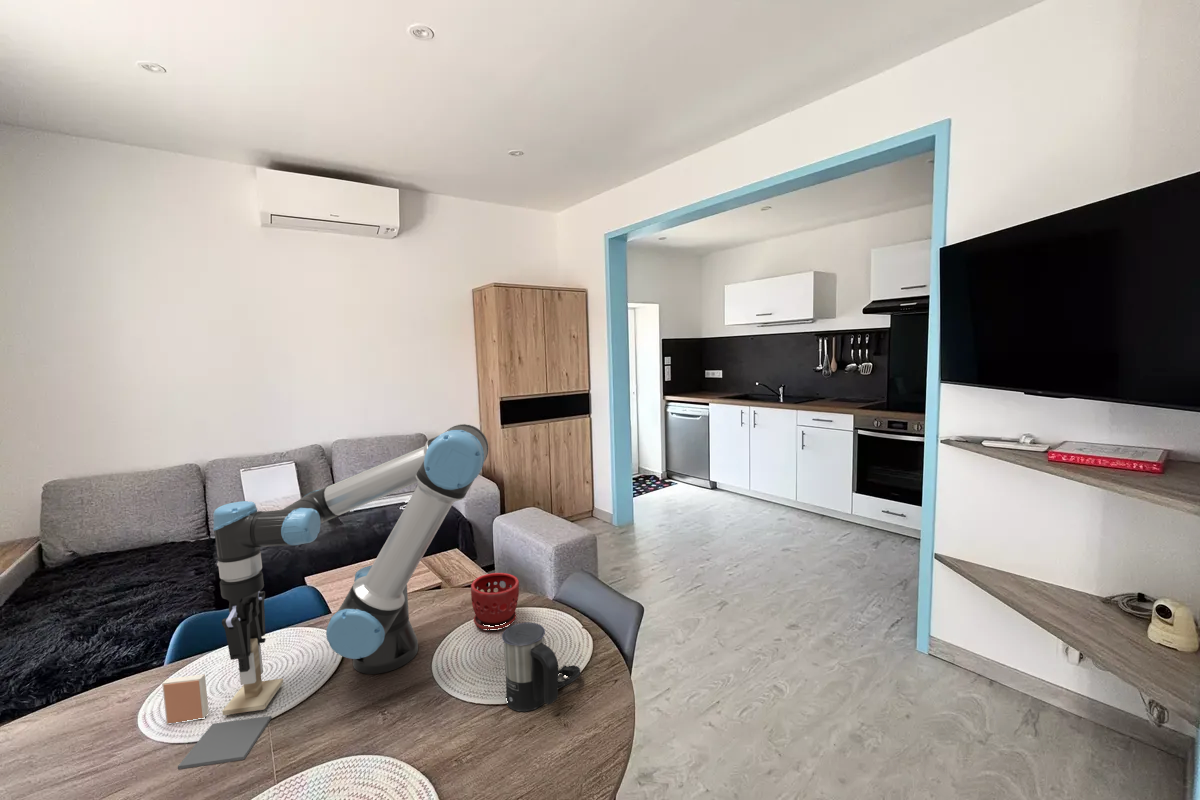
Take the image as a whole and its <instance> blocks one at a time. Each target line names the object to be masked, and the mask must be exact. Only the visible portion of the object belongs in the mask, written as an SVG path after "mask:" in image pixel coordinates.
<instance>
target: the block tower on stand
mask: <svg viewBox="0 0 1200 800" xmlns="http://www.w3.org/2000/svg"><path fill="white" fill-rule="evenodd" d="M250 645H251V653H254V663H255V673H256V682H255V683H252V684H245V685H241V687H240V689H238V691H237V692H236V693H235V694H234V696H232V698H231V699H230V701H229V702H228V703H227V704H226V705H225V706H224V708H223V709H222V711H221V713H222V716H229V715H235V714H241V713H247V712H255V711H262V710H265V709H266V708H267V707H268V706H269V704H270V703H271V701H272V699H273V697H275V695H276V693H277V692H279V689H280V688H281V687H282V685H283V684H284V678H275V679H269V680H262V674H261V670H260V660H259V651H258V640H257V638H254V639H250Z"/></svg>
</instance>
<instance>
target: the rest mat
mask: <svg viewBox="0 0 1200 800" xmlns="http://www.w3.org/2000/svg"><path fill="white" fill-rule="evenodd" d="M271 720H272V715H267V716H261V717H260V716H259V717H258V716H257V717H252V718H245V719H238V720H230V721H223V722H217V723H216V722H215V723H212V724H211V725H210V726H209V727H208V728H207V730H206V731H205V732H204V733H203V735H202V736H201V737H200V739H199V740H198V741H197V742H196V743H195V745H194V746H193V747H192V748H191V750H190V751H189V752H188V753H187V754H186V755H185V757H184V758H183V759H182V761H180V762H179V765H177V769H178V770H183V769H189V768H197V767H202V766H203V767H204V766H210V765H216V764H217V765H218V764H222V763H223V764H224V763H229V762H236V761H237V762H239V761H243V760H245V759H246V757H247V756H248V755H249V753H250V752H251V750H252V748H253V747H254V746H255V745H256V743H257V741H258V740H259V738H260V736H261V735H262V733H263V731H264V730H265V729H266V727H267V726H268V725H269V723H270V721H271Z"/></svg>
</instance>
